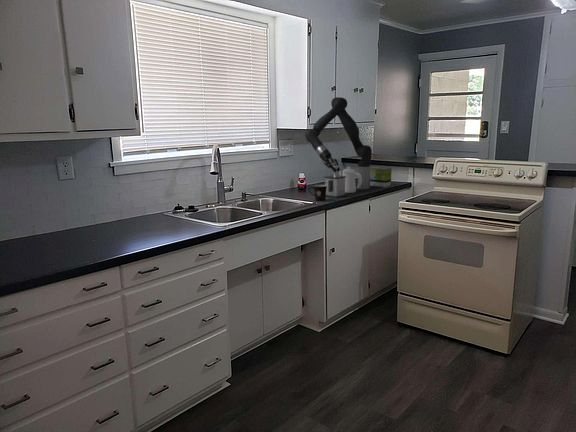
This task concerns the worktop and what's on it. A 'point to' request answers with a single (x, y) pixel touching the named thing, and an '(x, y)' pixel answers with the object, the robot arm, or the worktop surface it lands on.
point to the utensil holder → (335, 186)
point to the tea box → (380, 176)
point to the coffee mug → (319, 192)
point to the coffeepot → (350, 180)
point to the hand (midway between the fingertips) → (337, 171)
